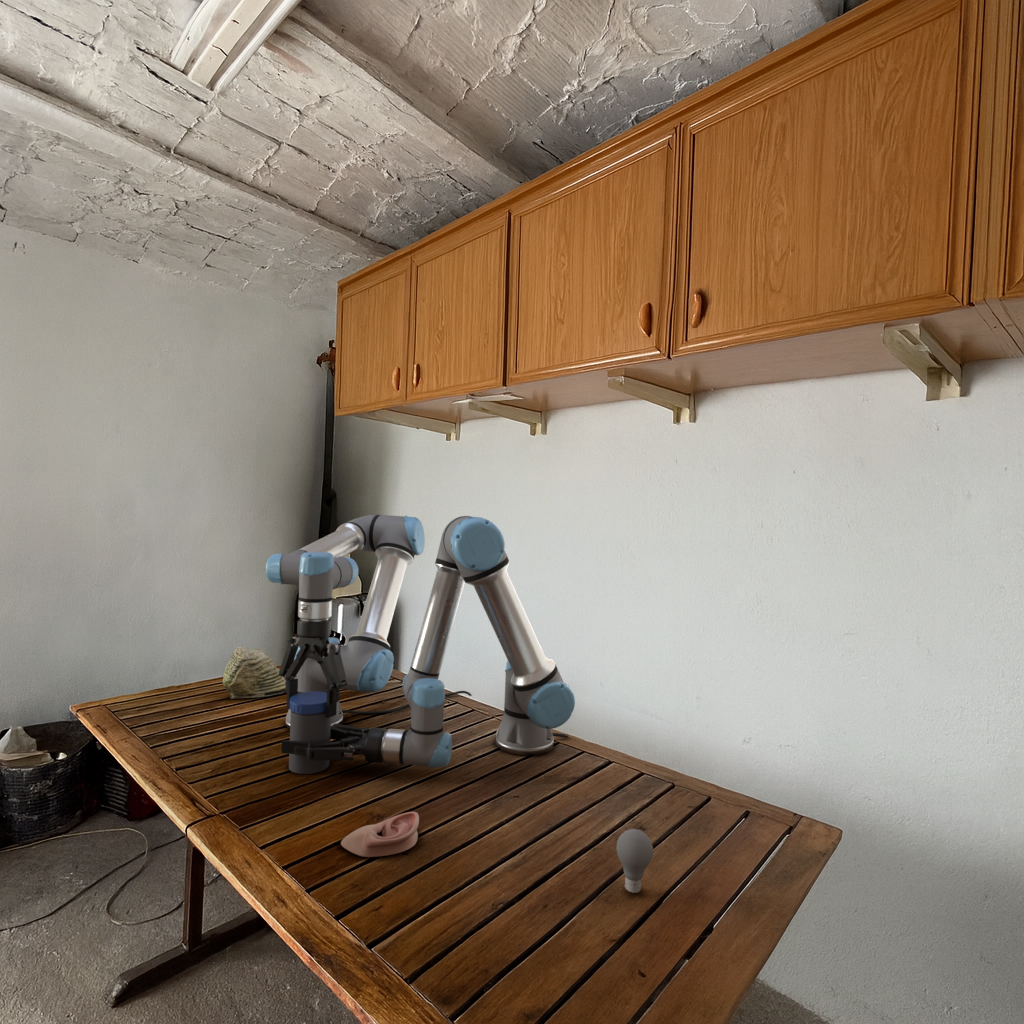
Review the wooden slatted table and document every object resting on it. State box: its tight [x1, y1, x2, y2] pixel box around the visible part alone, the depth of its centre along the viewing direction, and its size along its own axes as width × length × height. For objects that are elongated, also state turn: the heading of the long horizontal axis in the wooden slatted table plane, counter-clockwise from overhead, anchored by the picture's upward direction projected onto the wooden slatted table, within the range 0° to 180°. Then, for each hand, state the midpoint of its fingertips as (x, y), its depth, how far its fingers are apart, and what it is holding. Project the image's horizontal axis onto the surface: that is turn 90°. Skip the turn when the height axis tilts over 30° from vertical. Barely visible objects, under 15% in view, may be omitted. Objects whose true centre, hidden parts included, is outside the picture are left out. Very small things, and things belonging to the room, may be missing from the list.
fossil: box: [222, 646, 286, 699], centre depth 198 cm, size 9×18×15 cm, turn 132°
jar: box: [288, 711, 331, 775], centre depth 149 cm, size 9×9×15 cm
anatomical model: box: [340, 811, 420, 858], centre depth 117 cm, size 13×4×12 cm
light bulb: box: [615, 828, 654, 894], centre depth 106 cm, size 6×6×10 cm
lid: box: [289, 692, 327, 714], centre depth 148 cm, size 10×10×2 cm
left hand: (311, 711), depth 148 cm, fingers open, 11 cm apart
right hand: (291, 738), depth 149 cm, fingers closed on jar, 9 cm apart
